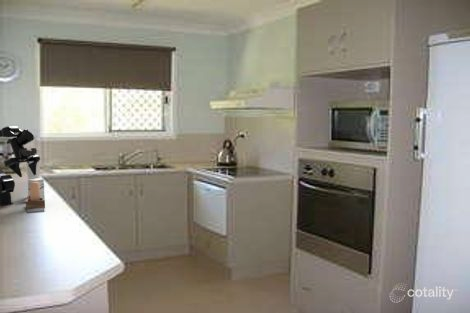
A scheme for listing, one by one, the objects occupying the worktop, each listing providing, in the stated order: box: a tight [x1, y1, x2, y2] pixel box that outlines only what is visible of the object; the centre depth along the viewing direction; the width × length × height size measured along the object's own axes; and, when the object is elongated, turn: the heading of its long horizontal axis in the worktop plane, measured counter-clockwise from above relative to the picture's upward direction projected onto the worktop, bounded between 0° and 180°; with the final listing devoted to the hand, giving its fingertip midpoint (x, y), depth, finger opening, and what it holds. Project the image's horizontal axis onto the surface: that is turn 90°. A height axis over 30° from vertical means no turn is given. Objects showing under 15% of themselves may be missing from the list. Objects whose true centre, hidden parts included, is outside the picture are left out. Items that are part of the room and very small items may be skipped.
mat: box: [26, 208, 45, 214], centre depth 239 cm, size 8×8×1 cm
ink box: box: [27, 178, 45, 199], centre depth 273 cm, size 9×5×12 cm, turn 168°
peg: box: [30, 182, 40, 201], centre depth 249 cm, size 4×4×13 cm
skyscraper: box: [25, 152, 41, 198], centre depth 284 cm, size 8×8×28 cm
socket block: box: [25, 197, 46, 210], centre depth 249 cm, size 9×9×4 cm
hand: (28, 175), depth 251 cm, fingers open, 9 cm apart
